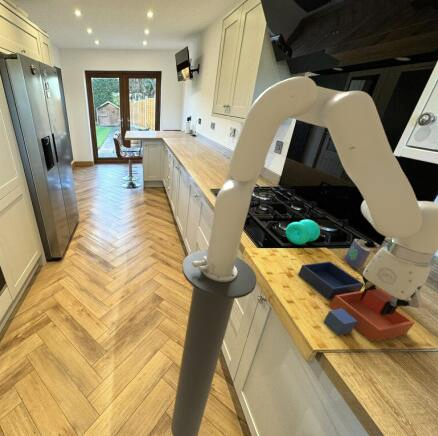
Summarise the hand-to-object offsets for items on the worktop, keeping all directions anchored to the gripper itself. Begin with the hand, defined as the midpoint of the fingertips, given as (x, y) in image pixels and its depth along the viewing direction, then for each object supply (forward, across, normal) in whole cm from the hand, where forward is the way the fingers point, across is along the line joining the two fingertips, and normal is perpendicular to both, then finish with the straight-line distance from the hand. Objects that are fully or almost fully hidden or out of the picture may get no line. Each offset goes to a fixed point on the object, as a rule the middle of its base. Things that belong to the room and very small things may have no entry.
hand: (375, 305), depth 65 cm
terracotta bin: (+5, 0, 0) cm, 5 cm away
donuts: (+6, -41, +15) cm, 44 cm away
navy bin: (+5, -15, +2) cm, 16 cm away
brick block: (0, 0, 0) cm, 0 cm away
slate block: (+5, 0, -11) cm, 12 cm away
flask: (+6, -23, +23) cm, 33 cm away
